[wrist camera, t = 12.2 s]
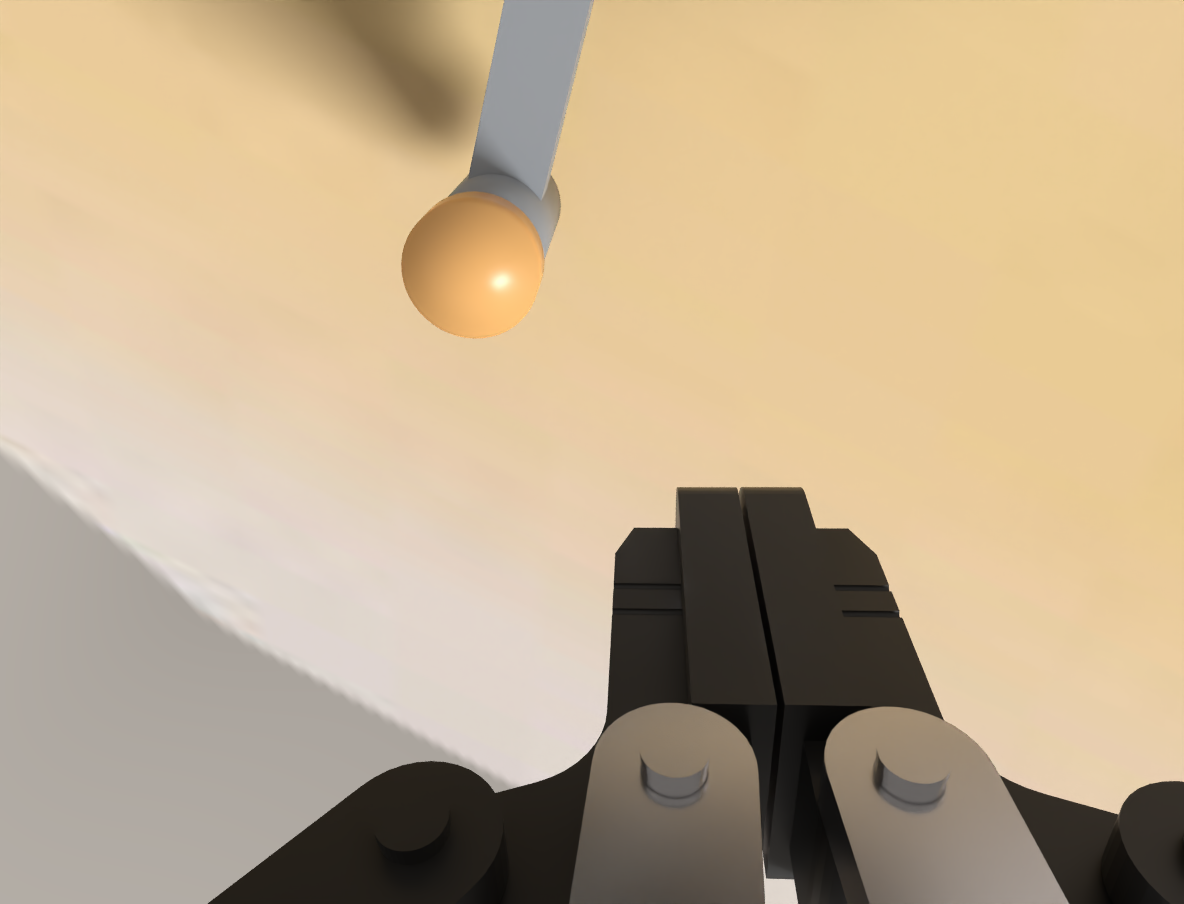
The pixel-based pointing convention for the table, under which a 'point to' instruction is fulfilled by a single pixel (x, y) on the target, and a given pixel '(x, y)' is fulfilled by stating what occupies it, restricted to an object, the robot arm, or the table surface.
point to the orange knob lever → (502, 181)
